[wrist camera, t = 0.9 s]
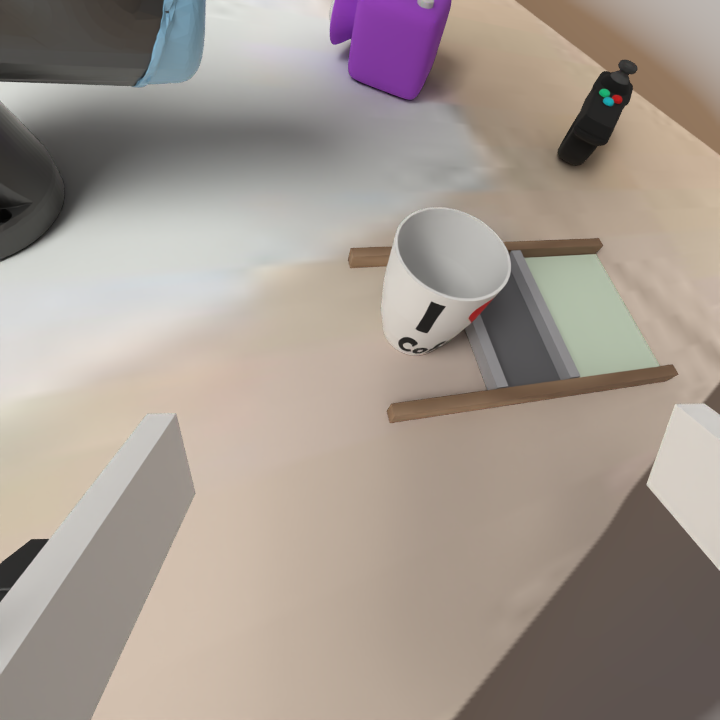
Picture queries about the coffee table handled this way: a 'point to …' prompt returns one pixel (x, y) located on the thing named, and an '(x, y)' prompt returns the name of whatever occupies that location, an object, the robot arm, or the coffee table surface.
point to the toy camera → (390, 40)
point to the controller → (598, 114)
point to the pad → (590, 315)
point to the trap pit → (519, 335)
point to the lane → (524, 392)
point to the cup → (439, 278)
